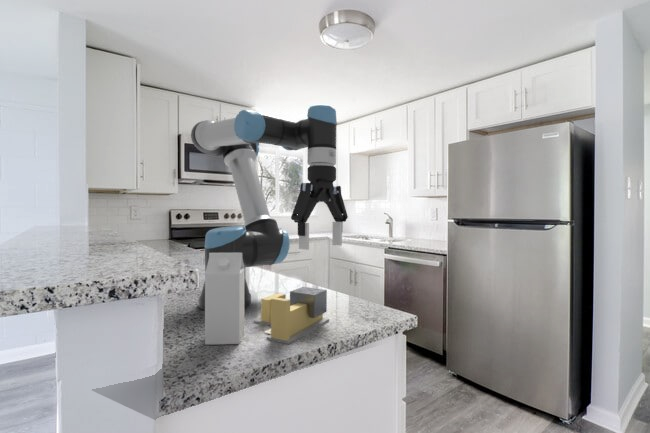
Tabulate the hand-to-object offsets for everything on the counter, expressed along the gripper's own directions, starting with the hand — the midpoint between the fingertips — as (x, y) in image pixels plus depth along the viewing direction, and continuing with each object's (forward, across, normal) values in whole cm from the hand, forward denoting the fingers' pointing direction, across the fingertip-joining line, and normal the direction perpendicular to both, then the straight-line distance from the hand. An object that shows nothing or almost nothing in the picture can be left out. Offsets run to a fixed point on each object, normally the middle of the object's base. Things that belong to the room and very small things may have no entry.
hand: (321, 247), depth 90 cm
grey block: (+16, -6, -1) cm, 17 cm away
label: (+19, -14, +2) cm, 23 cm away
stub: (+19, -9, +9) cm, 22 cm away
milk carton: (+19, -25, +7) cm, 32 cm away
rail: (+19, -10, -2) cm, 21 cm away
